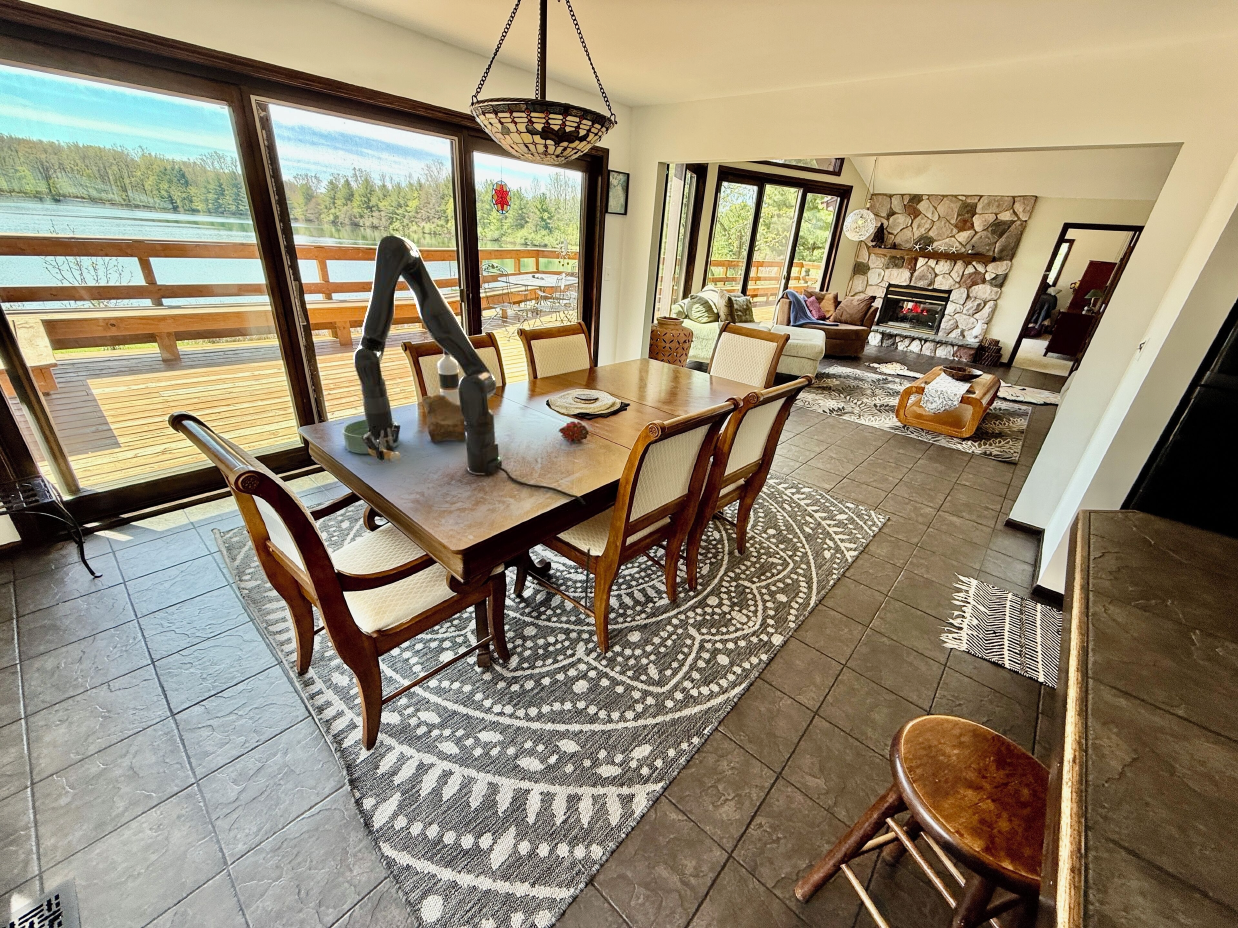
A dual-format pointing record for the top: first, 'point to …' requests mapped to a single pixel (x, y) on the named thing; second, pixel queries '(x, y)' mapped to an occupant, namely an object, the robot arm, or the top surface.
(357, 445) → the green pet bowl
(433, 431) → the rough brown rock
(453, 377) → the vodka
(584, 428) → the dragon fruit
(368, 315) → the robot arm
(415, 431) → the top surface
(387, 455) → the drumstick
